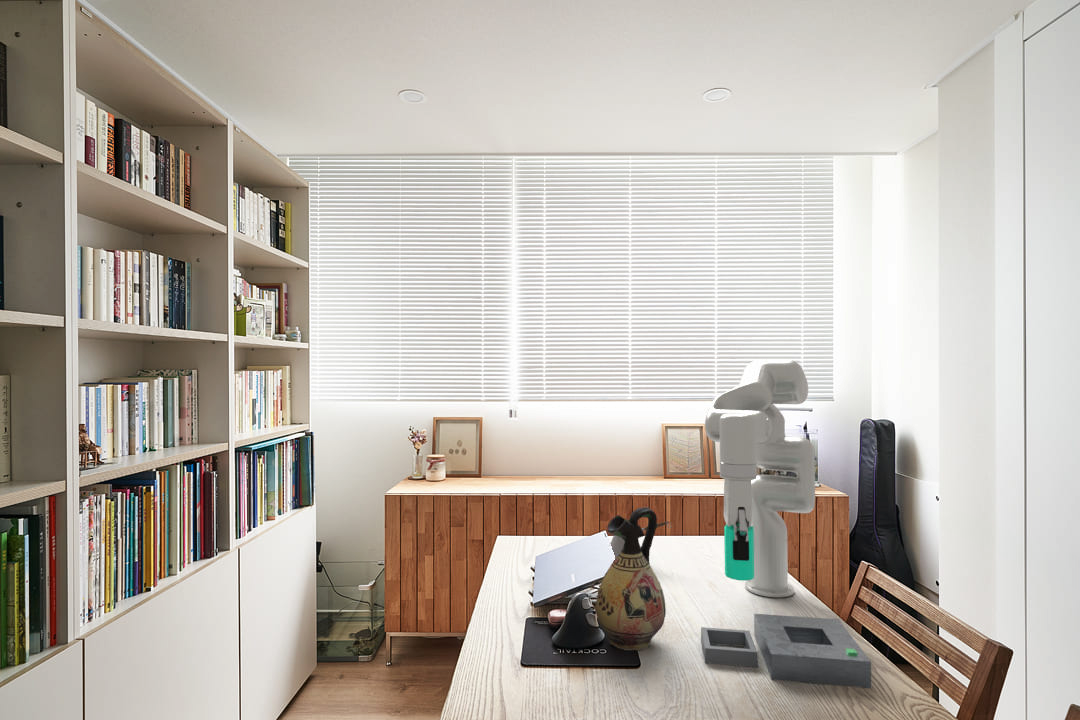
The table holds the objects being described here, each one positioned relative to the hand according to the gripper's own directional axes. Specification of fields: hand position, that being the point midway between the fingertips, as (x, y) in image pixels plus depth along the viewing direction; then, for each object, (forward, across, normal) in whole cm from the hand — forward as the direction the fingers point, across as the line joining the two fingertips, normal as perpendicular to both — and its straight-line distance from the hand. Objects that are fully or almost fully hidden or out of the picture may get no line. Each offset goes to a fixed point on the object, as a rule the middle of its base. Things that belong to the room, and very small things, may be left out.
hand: (739, 554), depth 128 cm
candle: (+5, 0, 0) cm, 5 cm away
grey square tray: (+21, 0, -3) cm, 21 cm away
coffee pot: (+22, -56, -24) cm, 65 cm away
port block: (+21, 0, +13) cm, 25 cm away
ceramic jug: (+21, -1, -23) cm, 31 cm away
